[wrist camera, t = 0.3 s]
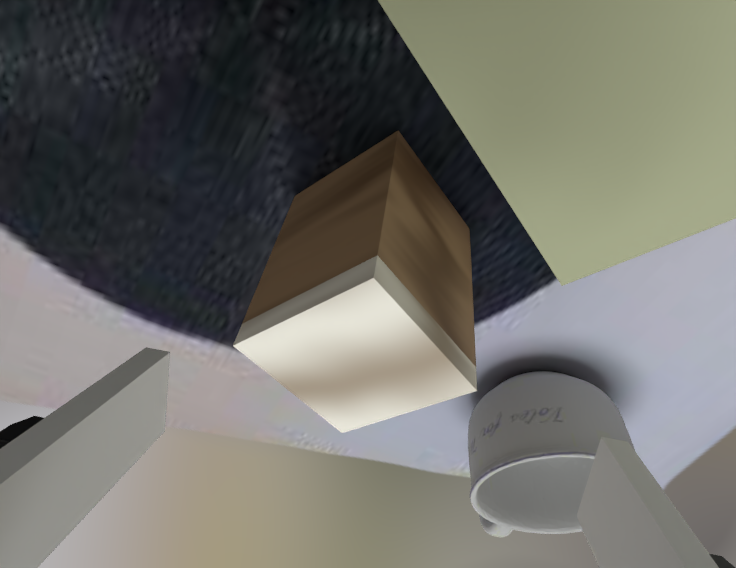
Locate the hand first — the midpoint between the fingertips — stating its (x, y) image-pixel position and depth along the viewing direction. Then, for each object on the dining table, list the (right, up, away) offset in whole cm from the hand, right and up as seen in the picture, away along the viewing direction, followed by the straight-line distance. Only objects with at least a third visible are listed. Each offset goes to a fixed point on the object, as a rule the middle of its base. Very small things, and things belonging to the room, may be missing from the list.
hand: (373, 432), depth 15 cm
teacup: (+12, -5, +24) cm, 27 cm away
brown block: (+1, +9, +13) cm, 16 cm away
